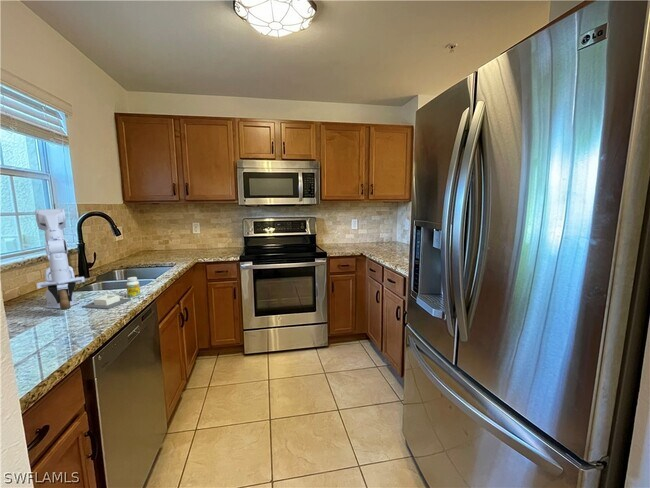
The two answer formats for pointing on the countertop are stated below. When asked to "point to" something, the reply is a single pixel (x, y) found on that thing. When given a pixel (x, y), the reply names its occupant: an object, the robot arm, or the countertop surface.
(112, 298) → the peg socket
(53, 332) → the countertop surface
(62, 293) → the walnut peg
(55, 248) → the robot arm
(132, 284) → the supplement bottle
